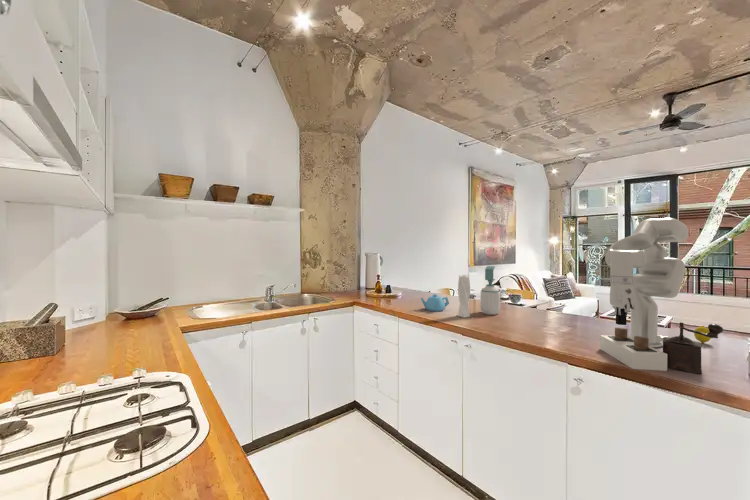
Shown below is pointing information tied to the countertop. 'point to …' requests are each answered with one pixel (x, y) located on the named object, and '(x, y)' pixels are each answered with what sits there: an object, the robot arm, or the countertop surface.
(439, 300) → the teapot
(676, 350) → the coffee grinder
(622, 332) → the peg
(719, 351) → the countertop surface
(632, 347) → the peg block
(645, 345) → the peg
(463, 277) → the twisted white vase
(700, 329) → the lemon
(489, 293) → the soap bottle
